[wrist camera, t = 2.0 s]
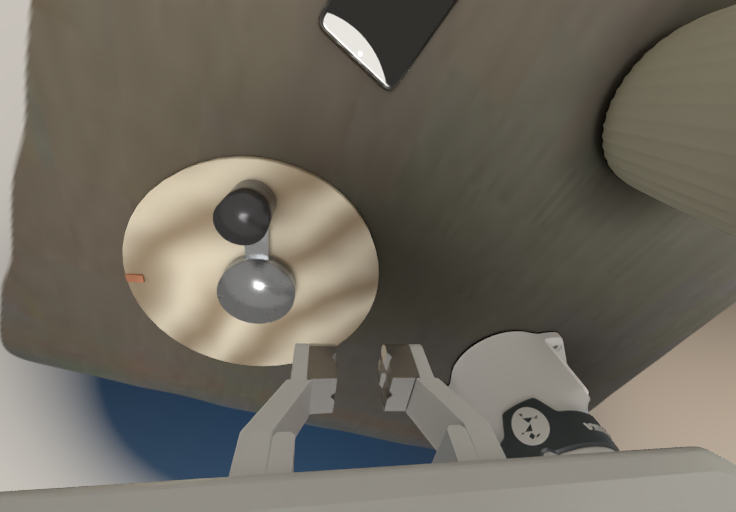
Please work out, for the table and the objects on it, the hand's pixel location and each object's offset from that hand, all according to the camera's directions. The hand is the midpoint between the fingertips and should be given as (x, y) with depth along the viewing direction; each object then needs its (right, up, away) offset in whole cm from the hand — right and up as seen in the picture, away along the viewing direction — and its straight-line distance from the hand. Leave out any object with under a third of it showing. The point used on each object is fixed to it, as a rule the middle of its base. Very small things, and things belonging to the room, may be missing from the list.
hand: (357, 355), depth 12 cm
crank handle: (-10, +4, +16) cm, 19 cm away
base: (-10, +2, +20) cm, 22 cm away
